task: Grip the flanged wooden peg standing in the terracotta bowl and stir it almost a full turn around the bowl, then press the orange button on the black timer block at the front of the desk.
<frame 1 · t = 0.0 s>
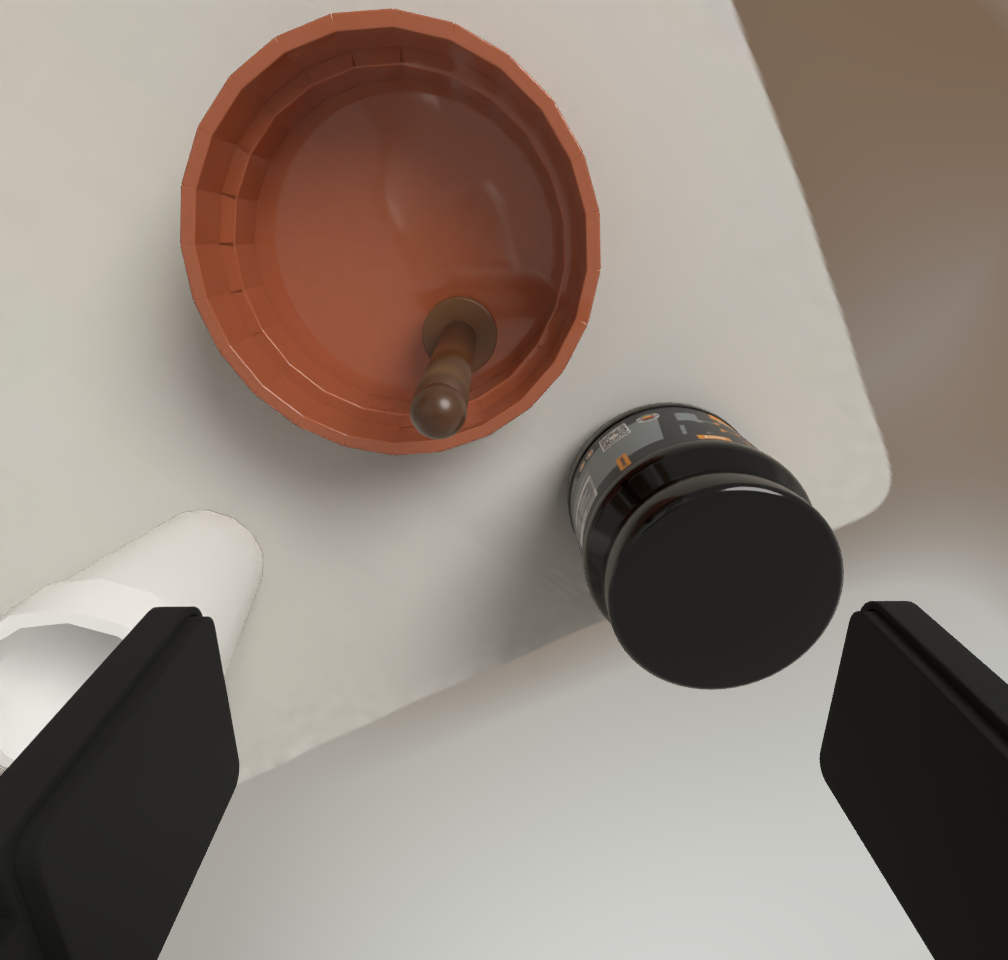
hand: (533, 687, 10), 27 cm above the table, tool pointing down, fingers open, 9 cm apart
foam cup: (210, 557, 39), on the table
supplement container: (655, 485, 38), on the table
bowl: (409, 252, 33), on the table
flanged wooden peg: (456, 348, 28), point 6 cm above the table, hinge at 0.0°
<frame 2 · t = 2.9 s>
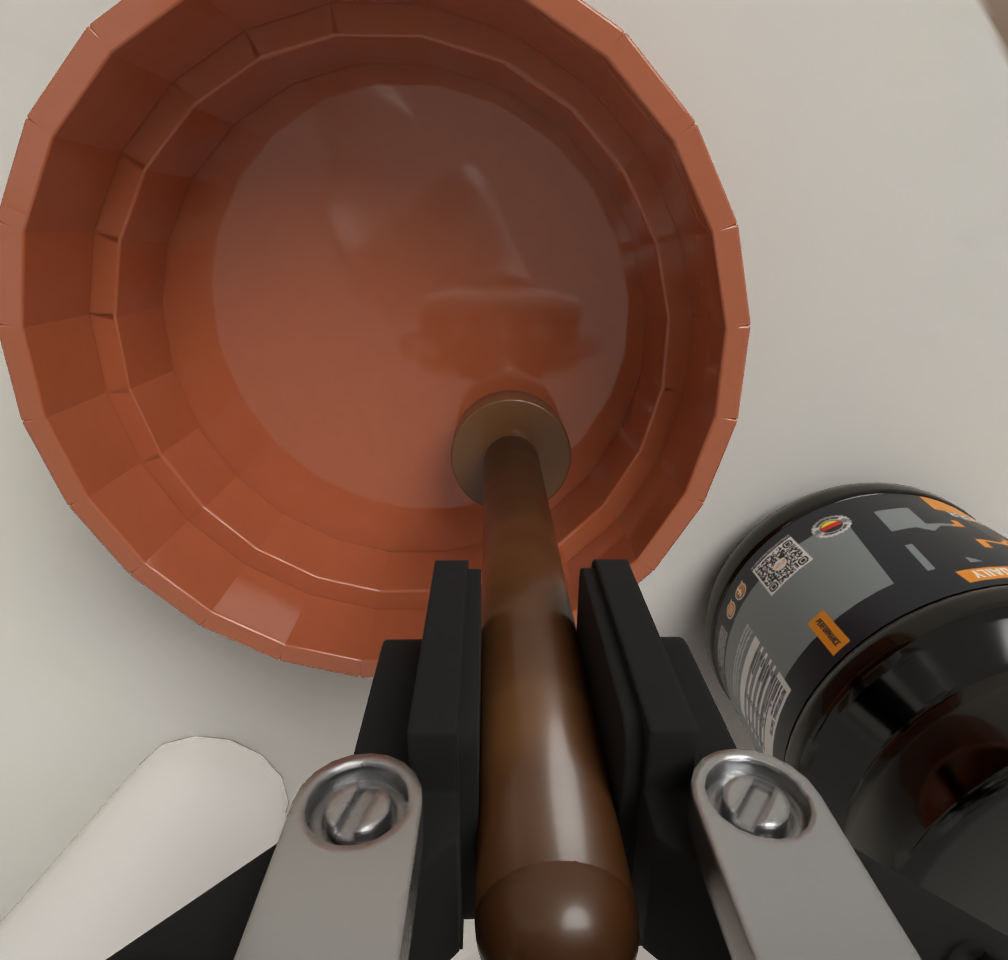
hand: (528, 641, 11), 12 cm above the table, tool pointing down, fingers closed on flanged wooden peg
foam cup: (213, 792, 28), on the table
supplement container: (831, 598, 25), on the table
bowl: (409, 336, 21), on the table
flanged wooden peg: (515, 502, 16), point 6 cm above the table, hinge at 0.0°, touching gripper
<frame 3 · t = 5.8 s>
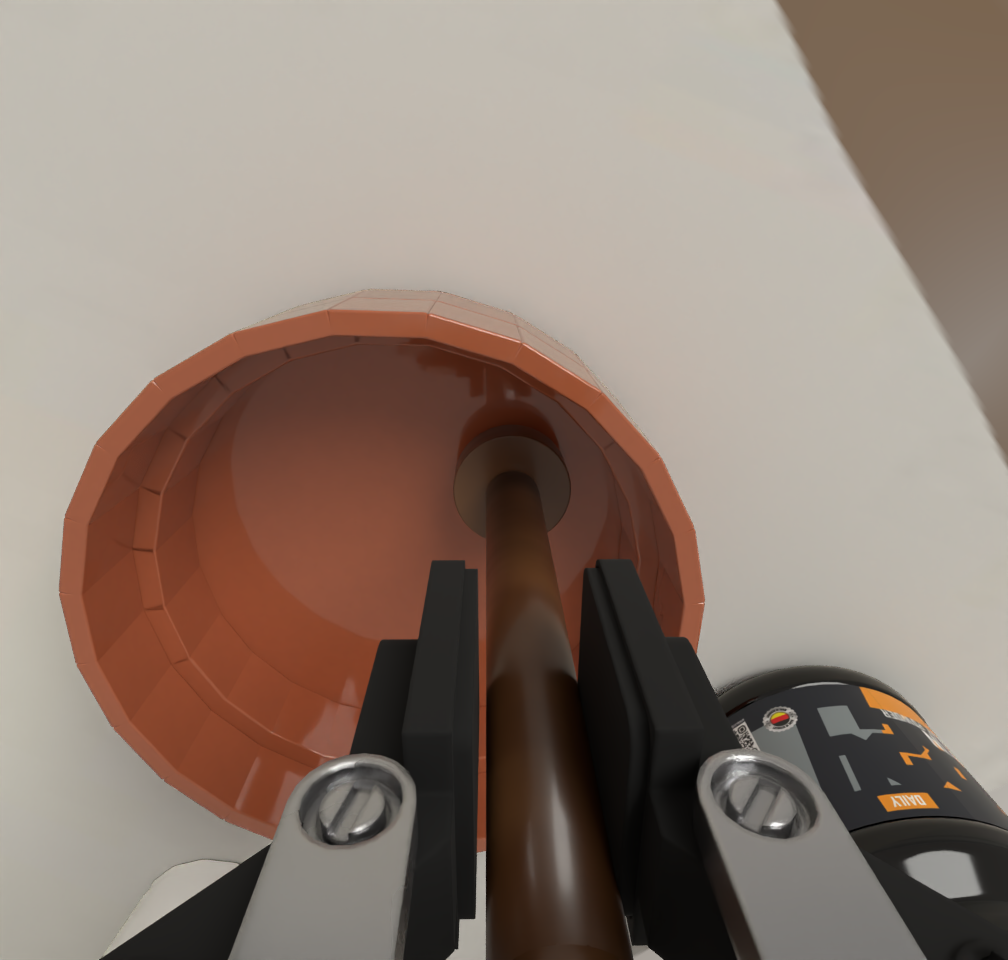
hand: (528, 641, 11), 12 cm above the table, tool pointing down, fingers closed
foam cup: (219, 905, 30), on the table
supplement container: (784, 752, 28), on the table
bowl: (411, 537, 23), on the table
flanged wooden peg: (517, 542, 17), point 6 cm above the table, hinge at 86.3°, touching gripper
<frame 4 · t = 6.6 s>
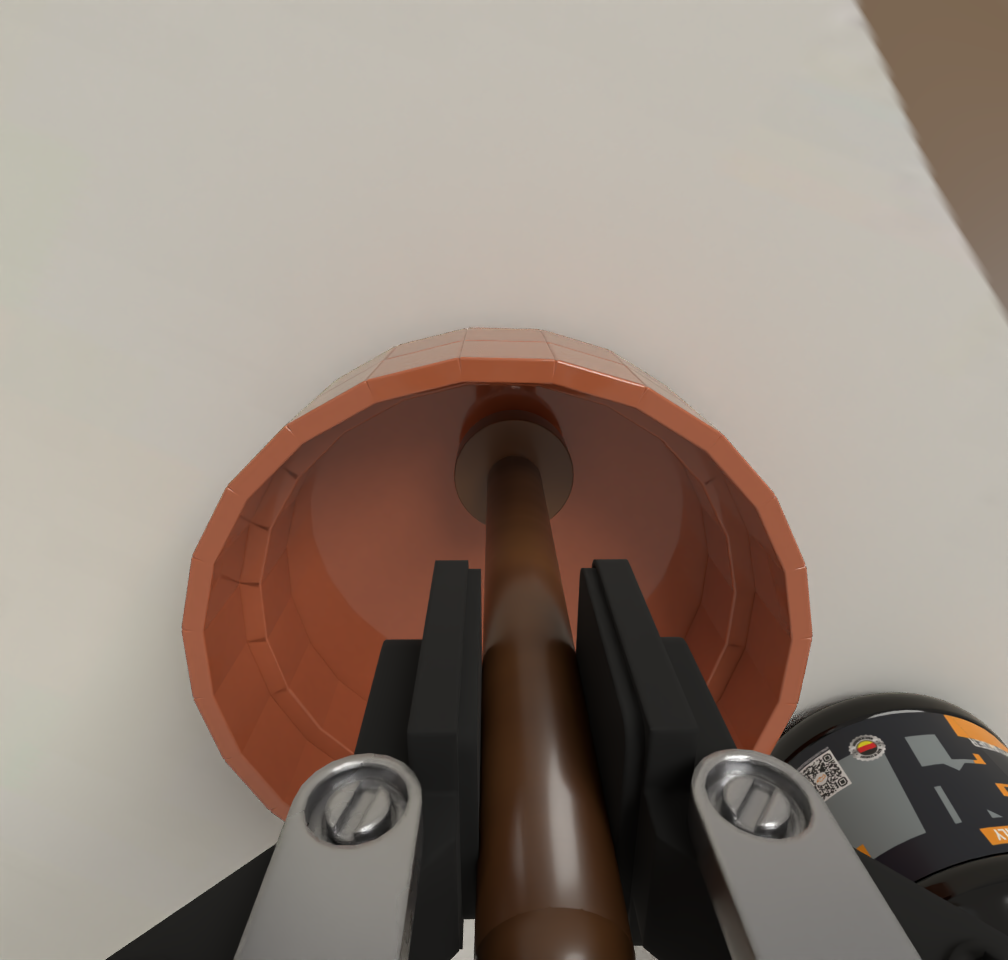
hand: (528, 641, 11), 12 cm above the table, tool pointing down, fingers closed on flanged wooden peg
supplement container: (859, 778, 28), on the table
bowl: (498, 566, 24), on the table
flanged wooden peg: (517, 524, 16), point 6 cm above the table, hinge at 130.5°, touching gripper
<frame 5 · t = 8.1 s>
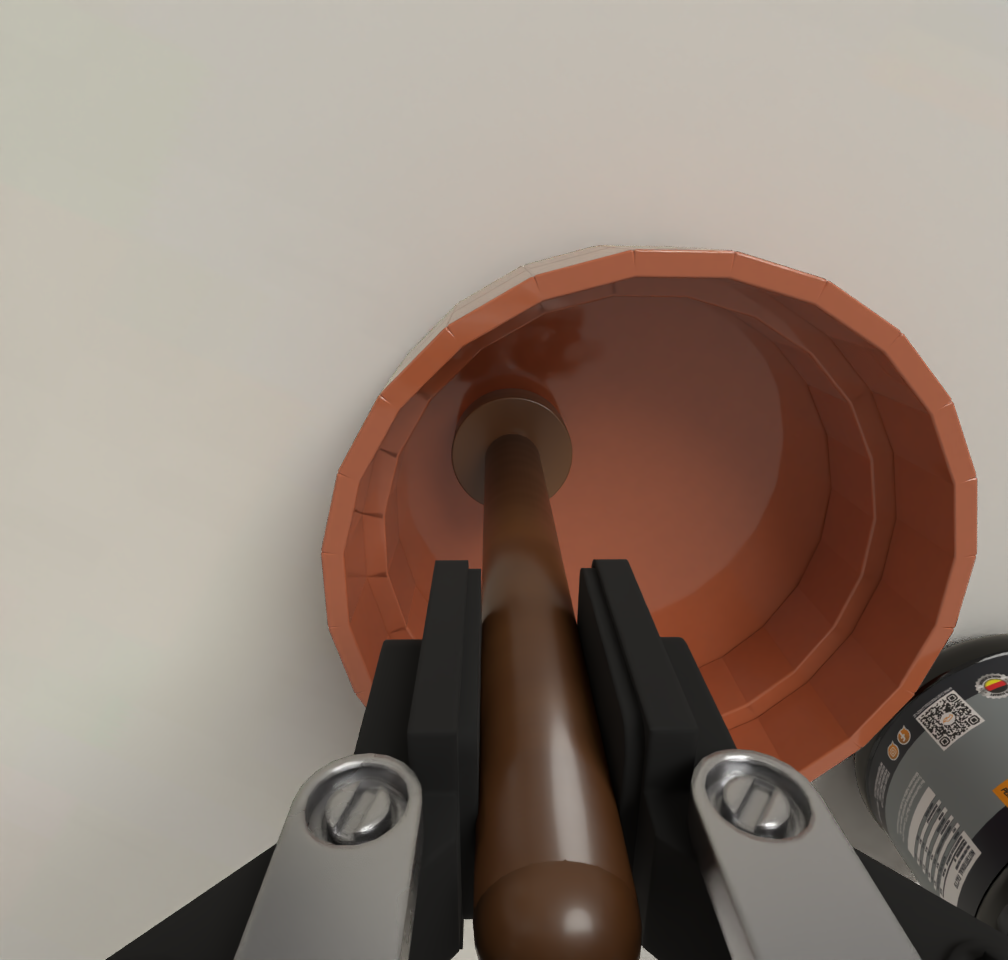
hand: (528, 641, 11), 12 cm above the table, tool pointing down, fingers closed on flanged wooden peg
supplement container: (967, 726, 27), on the table
bowl: (610, 505, 23), on the table
flanged wooden peg: (516, 500, 16), point 6 cm above the table, hinge at 188.1°, touching gripper
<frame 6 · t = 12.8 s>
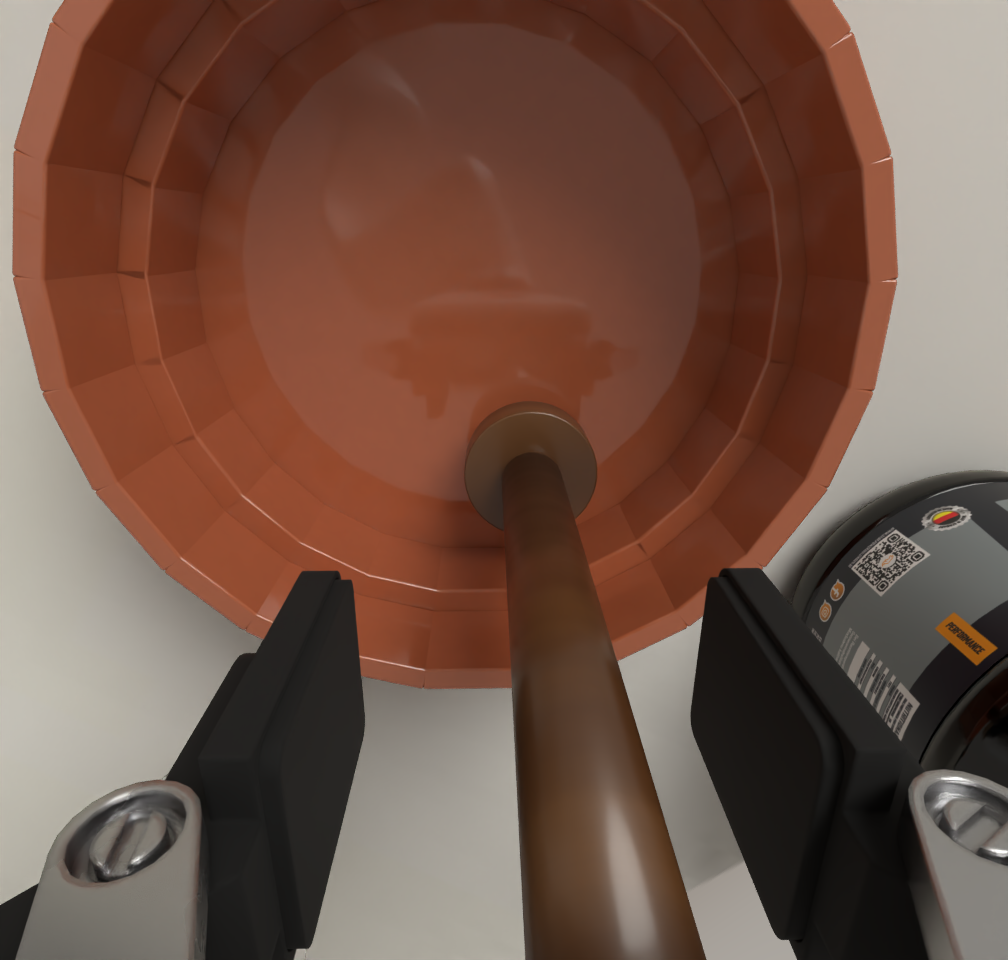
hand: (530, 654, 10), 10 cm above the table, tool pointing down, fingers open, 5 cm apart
supplement container: (923, 599, 23), on the table
bowl: (470, 305, 19), on the table
flanged wooden peg: (540, 530, 14), point 6 cm above the table, hinge at 336.4°
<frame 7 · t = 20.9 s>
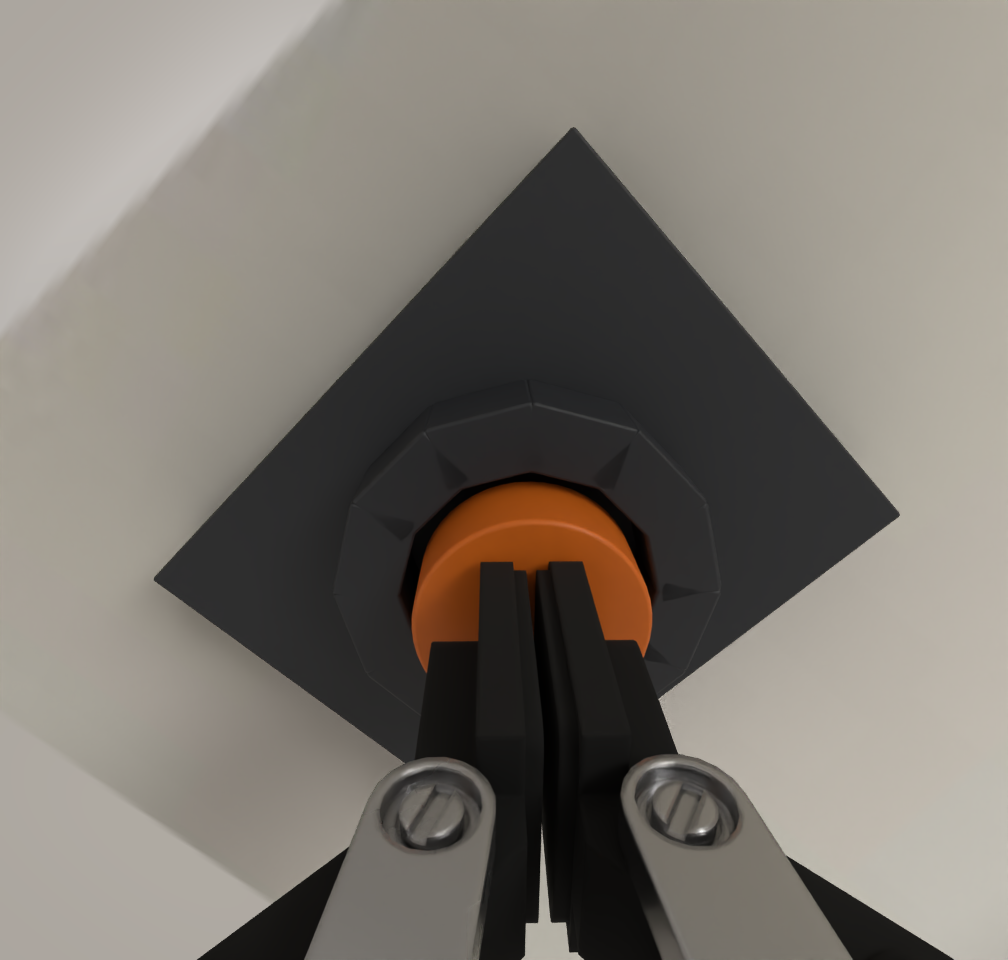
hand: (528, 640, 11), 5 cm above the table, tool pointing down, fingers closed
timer: (519, 505, 16), on the table
timer button: (529, 602, 12), point 4 cm above the table, slide at -0.1 cm, touching gripper
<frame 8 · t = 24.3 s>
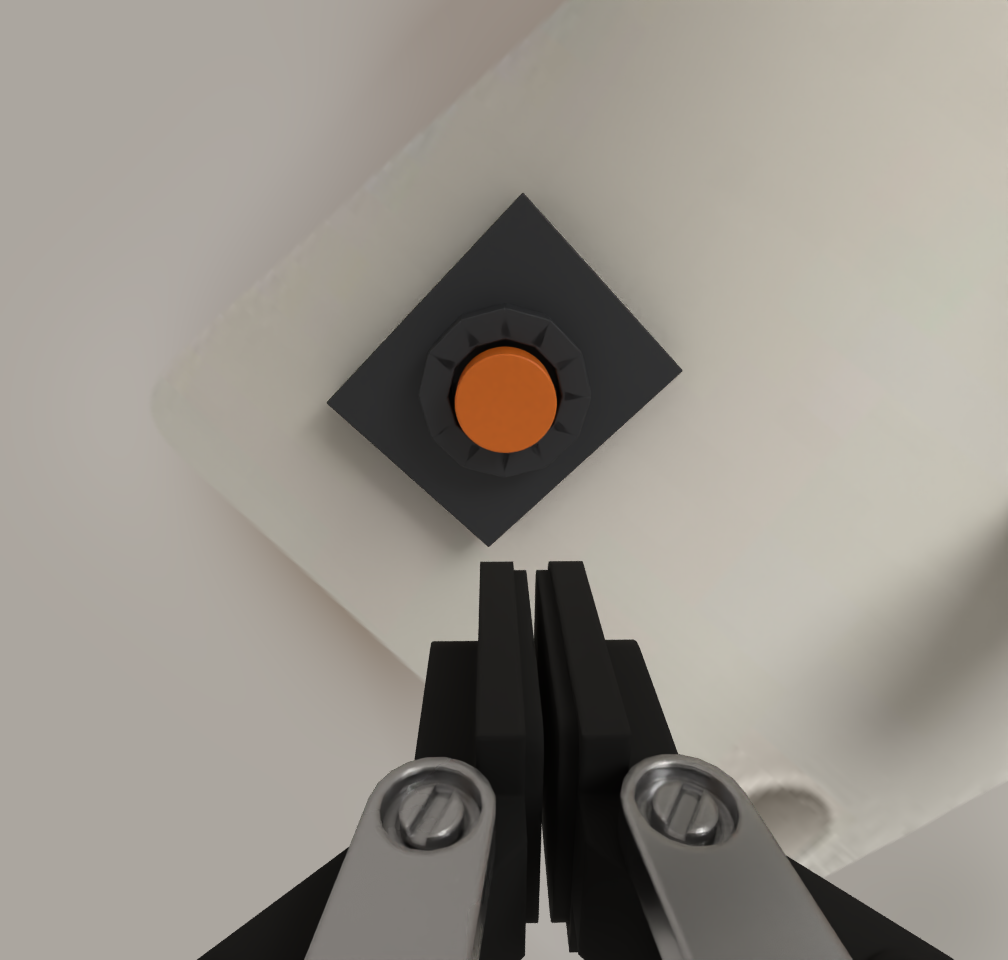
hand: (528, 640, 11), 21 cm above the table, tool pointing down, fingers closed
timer: (503, 376, 31), on the table
timer button: (505, 399, 26), point 4 cm above the table, slide at 0.1 cm
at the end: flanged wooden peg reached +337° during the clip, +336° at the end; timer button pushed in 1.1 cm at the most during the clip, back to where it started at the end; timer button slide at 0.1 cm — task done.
